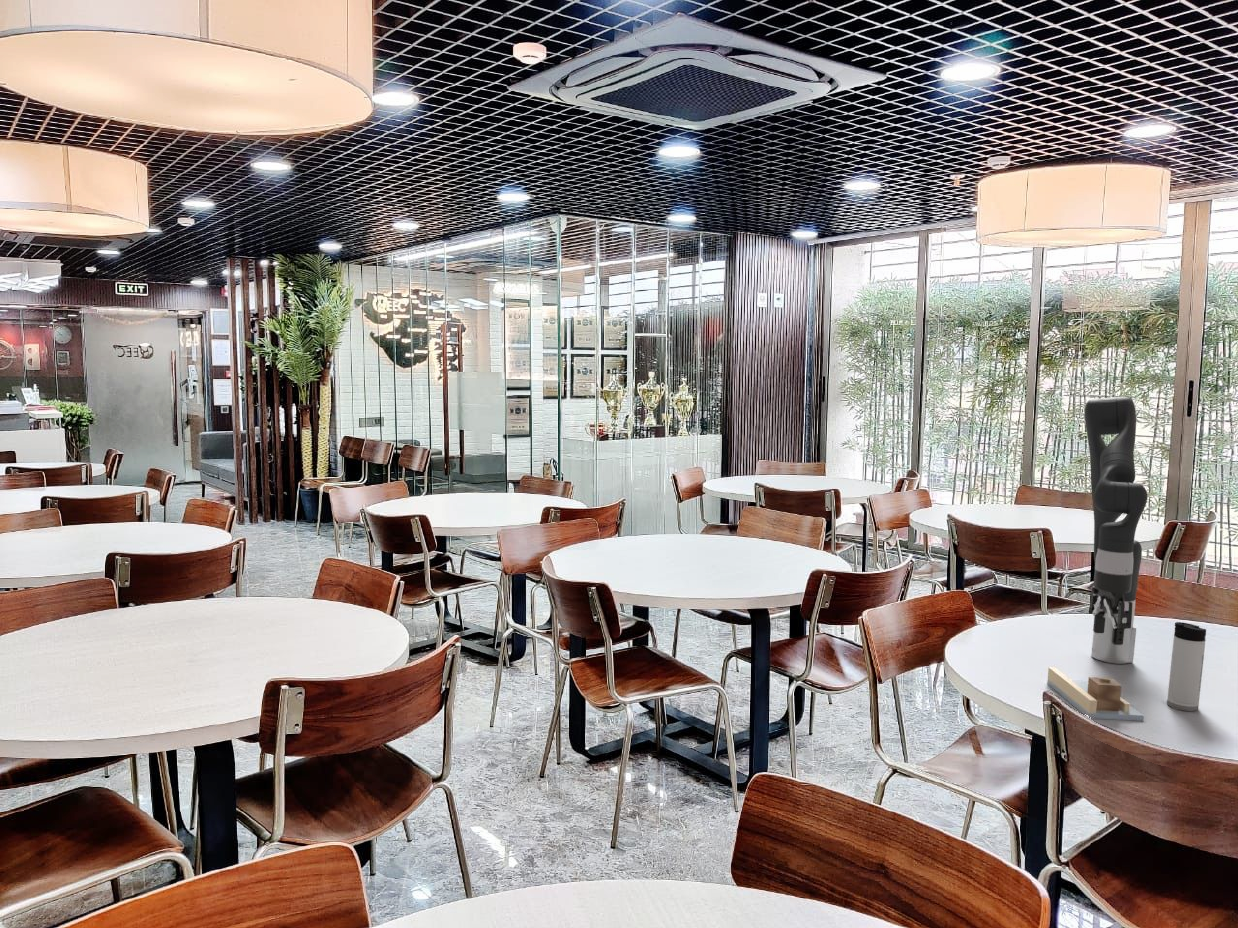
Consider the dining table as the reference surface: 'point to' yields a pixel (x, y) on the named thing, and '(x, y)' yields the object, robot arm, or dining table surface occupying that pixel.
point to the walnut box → (1105, 693)
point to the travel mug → (1186, 667)
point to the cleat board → (1088, 698)
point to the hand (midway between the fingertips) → (1107, 638)
